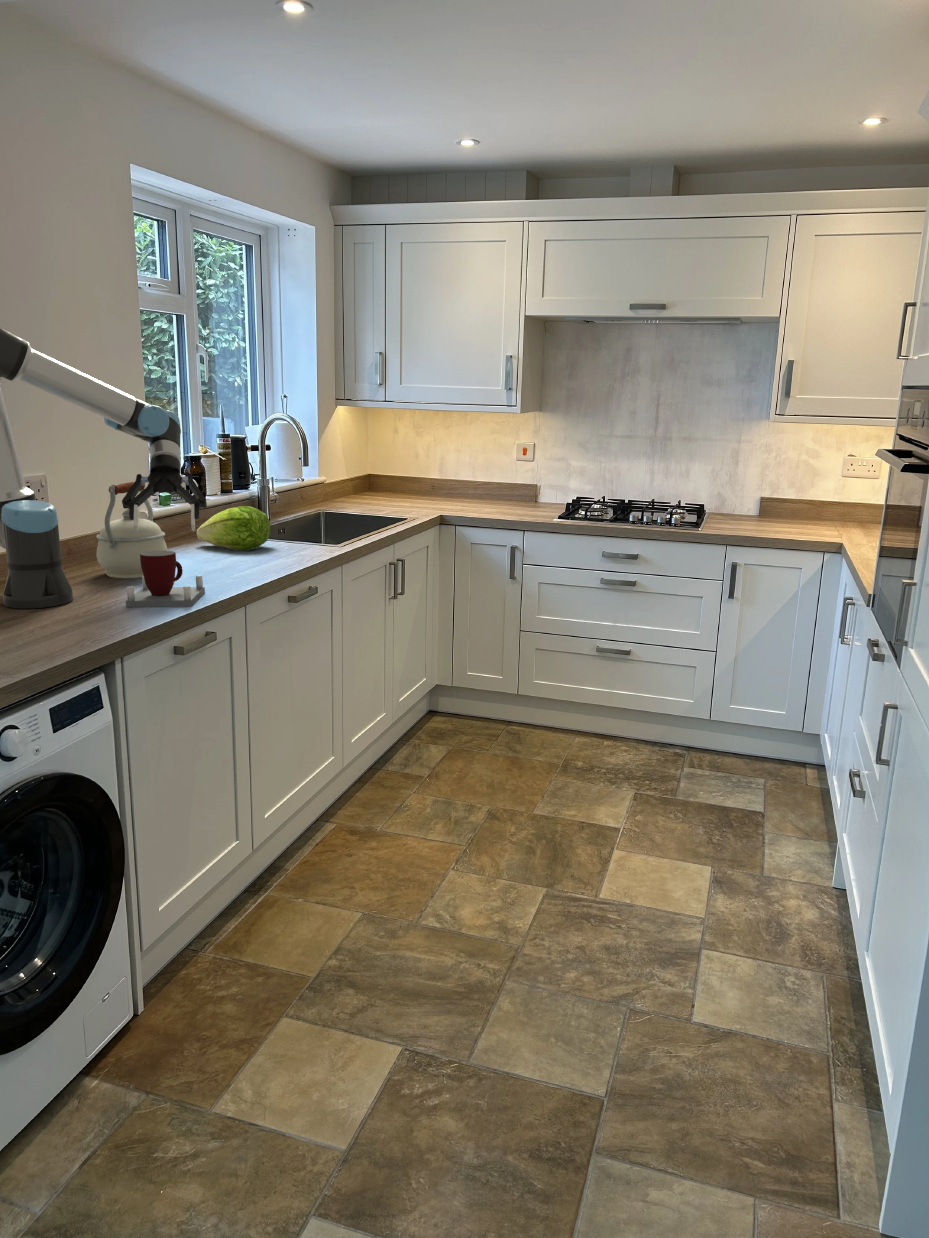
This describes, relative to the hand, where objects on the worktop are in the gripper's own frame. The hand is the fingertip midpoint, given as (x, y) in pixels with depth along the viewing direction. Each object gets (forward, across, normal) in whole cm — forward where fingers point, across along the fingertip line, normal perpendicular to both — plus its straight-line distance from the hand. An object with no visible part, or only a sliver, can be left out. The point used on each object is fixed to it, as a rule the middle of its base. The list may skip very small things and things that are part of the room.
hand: (164, 528), depth 230 cm
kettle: (-7, +10, -30) cm, 32 cm away
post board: (+19, 0, -3) cm, 19 cm away
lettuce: (-33, -15, -56) cm, 67 cm away
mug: (+18, 0, -3) cm, 18 cm away
